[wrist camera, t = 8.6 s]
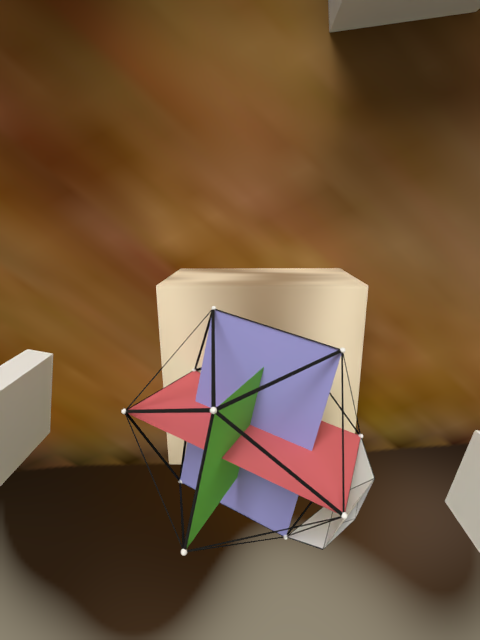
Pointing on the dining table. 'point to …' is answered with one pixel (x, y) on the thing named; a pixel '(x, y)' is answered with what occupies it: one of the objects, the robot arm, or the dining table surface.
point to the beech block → (265, 321)
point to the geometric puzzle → (261, 432)
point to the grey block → (391, 11)
